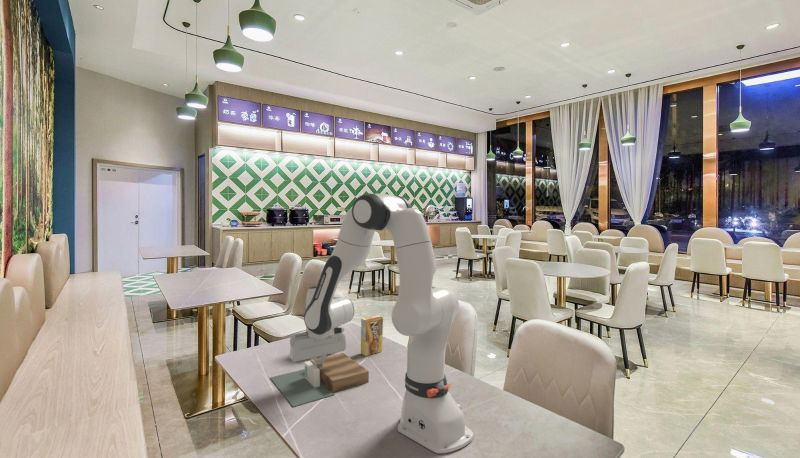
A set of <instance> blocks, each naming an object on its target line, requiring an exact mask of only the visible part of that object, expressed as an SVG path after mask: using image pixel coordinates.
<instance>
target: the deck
mask: <svg viewBox="0 0 800 458" xmlns="http://www.w3.org/2000/svg"><path fill="white" fill-rule="evenodd" d="M320 359H321V357H319V358H317V360H315V361H316V362H319V361H320ZM309 361H310V362H312V363H313V361H312V359H310V360H309ZM313 364H314V363H313ZM318 369H319V370H320V381H321V382H322V383H323V384H324V385H325V386H326V387H327V388H328V389H329V390H330V391H331V392H332V393H336V392H339V391H342V390H346V389H348V388H353V387H355V386H359V385H362V384H367V383H369V382H370V381H369V375H370V373H369V372H370V371H369V370H368V369H366V368H365V367H363V365H361V364H360V363H358V362H357V361H356V360H354V359H352V358H351V357H350V356H348V355H347V354H346V353H344V352H342V353H338V354H332V355H329V356H326V359H325V361H324V362H323V367H321V368H318Z"/></svg>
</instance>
